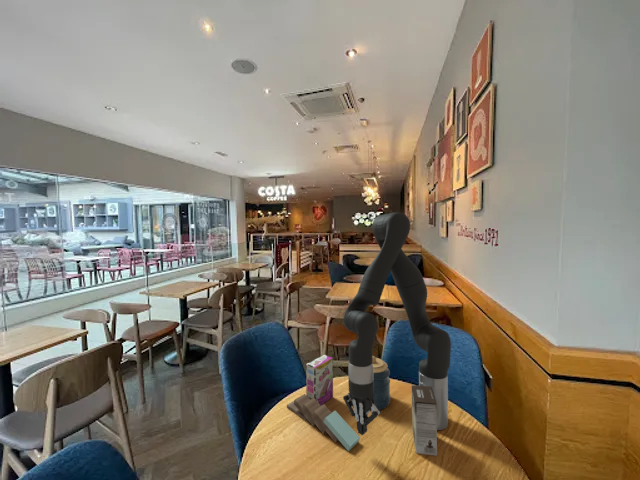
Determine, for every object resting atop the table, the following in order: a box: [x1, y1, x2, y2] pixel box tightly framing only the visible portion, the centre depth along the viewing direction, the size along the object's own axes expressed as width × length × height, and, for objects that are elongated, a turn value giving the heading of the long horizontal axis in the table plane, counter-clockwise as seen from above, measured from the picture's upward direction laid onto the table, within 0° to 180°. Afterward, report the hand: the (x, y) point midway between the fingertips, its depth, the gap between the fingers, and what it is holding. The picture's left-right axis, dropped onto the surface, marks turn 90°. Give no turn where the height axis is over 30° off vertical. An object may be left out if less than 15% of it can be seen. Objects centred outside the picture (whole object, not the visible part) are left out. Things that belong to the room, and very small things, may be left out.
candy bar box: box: [305, 354, 334, 406], centre depth 108 cm, size 11×5×16 cm, turn 139°
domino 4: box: [313, 403, 339, 443], centre depth 92 cm, size 2×5×11 cm
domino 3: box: [303, 398, 327, 435], centre depth 96 cm, size 2×5×11 cm
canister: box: [372, 355, 391, 410], centre depth 108 cm, size 13×13×18 cm
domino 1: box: [286, 400, 309, 422], centre depth 103 cm, size 2×5×11 cm
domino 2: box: [293, 393, 316, 427], centre depth 100 cm, size 2×5×11 cm
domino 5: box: [324, 410, 361, 452], centre depth 88 cm, size 2×5×11 cm
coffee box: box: [411, 384, 438, 456], centre depth 86 cm, size 9×6×16 cm
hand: (362, 432), depth 83 cm, fingers closed
